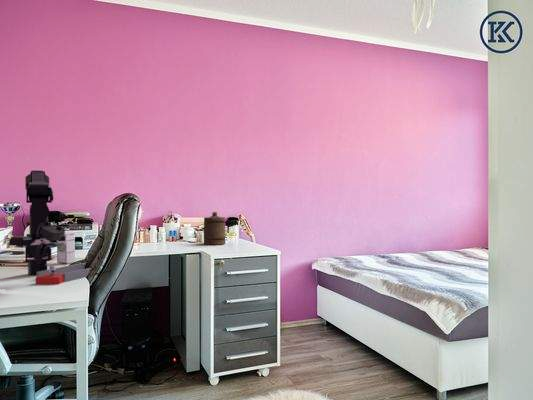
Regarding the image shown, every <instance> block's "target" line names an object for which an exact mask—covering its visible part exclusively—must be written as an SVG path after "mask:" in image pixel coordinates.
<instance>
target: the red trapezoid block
mask: <svg viewBox="0 0 533 400" xmlns="http://www.w3.org/2000/svg"><path fill="white" fill-rule="evenodd" d="M56 268H57V267H55V266H54V265H51V266H50V267H49V269H48V270H49V274H45V275H42V276H39V277H37V276H36V277H35V285H60V284H63V283H65V282H64V275H62V274H55V273H56Z"/></svg>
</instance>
